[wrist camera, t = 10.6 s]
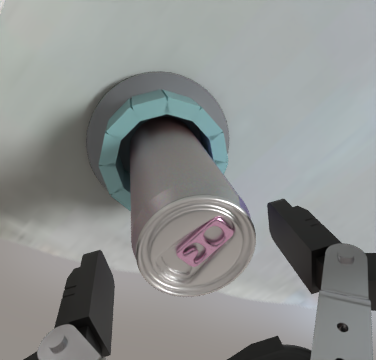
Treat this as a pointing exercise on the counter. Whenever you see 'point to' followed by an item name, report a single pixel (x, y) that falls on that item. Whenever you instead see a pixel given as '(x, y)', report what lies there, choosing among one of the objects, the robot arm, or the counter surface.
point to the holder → (143, 111)
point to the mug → (1, 5)
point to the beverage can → (184, 213)
